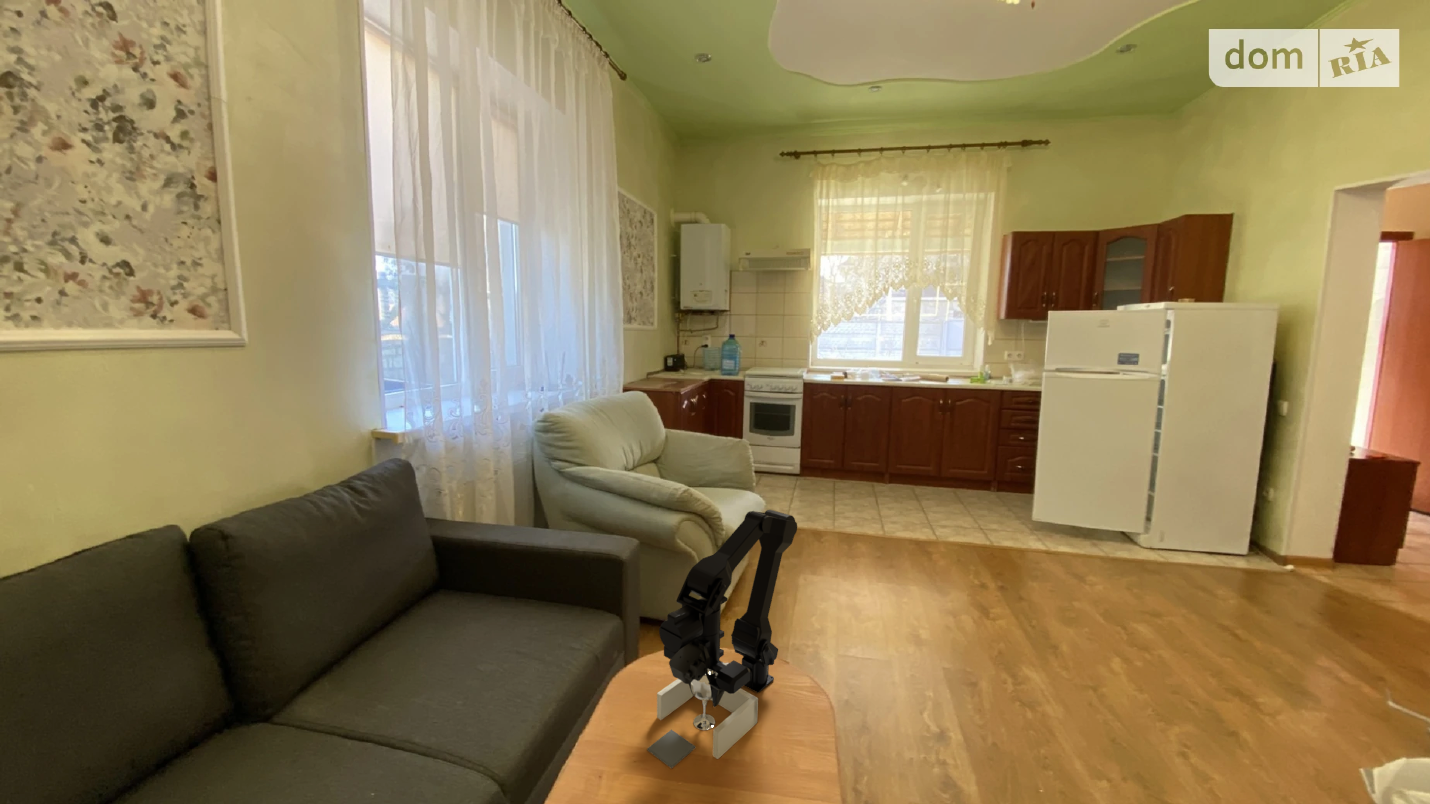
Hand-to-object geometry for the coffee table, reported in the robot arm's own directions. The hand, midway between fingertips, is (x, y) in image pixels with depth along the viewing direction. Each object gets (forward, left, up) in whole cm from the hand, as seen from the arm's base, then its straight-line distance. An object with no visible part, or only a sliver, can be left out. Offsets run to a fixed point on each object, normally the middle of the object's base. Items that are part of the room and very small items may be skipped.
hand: (704, 699), depth 110 cm
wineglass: (0, 0, -5) cm, 5 cm away
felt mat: (+10, 0, -5) cm, 11 cm away
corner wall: (-1, 0, -5) cm, 5 cm away
